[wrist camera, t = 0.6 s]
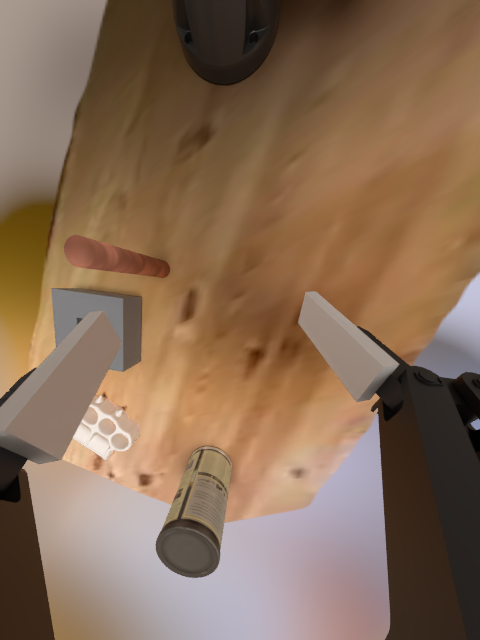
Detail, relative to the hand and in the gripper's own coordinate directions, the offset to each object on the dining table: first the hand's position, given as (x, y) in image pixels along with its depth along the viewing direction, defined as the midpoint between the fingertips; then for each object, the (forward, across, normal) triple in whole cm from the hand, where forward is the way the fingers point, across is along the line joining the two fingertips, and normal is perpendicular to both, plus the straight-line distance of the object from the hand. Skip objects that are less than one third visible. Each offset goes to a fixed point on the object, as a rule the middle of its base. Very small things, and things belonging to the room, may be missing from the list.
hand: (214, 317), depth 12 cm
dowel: (+25, -9, -5) cm, 27 cm away
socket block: (+24, -22, -16) cm, 36 cm away
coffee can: (+4, -5, -45) cm, 45 cm away
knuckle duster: (+15, -29, -38) cm, 50 cm away
